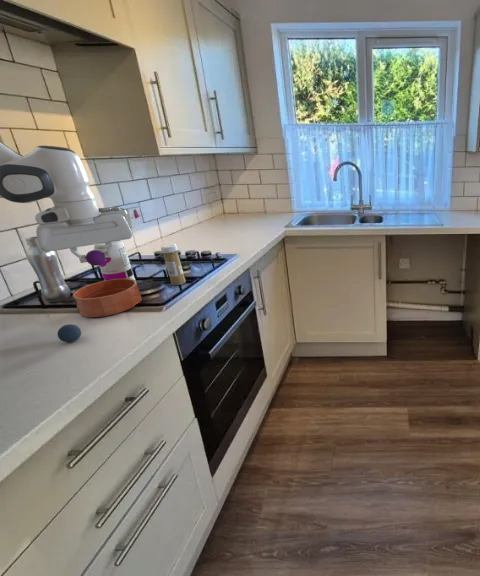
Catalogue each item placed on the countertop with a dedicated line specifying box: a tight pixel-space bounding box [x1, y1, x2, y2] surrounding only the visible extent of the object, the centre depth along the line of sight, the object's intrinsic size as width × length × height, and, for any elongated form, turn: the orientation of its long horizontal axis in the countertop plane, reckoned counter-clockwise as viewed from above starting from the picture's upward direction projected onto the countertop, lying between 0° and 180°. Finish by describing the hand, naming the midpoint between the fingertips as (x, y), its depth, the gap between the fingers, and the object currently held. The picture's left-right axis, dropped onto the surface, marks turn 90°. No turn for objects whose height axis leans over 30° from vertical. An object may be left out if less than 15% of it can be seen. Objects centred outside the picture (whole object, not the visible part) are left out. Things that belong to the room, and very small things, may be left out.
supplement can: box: [93, 240, 136, 281], centre depth 120 cm, size 8×8×15 cm
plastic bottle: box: [25, 235, 71, 303], centre depth 109 cm, size 6×7×20 cm
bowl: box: [72, 278, 143, 318], centre depth 106 cm, size 15×15×6 cm
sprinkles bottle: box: [160, 243, 187, 286], centre depth 121 cm, size 5×5×13 cm
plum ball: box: [85, 249, 105, 267], centre depth 101 cm, size 4×4×4 cm
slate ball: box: [57, 323, 82, 343], centre depth 89 cm, size 4×4×4 cm
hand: (96, 259), depth 102 cm, fingers closed on plum ball, 4 cm apart
